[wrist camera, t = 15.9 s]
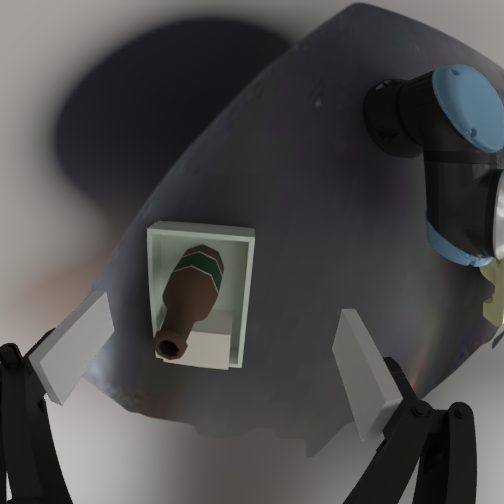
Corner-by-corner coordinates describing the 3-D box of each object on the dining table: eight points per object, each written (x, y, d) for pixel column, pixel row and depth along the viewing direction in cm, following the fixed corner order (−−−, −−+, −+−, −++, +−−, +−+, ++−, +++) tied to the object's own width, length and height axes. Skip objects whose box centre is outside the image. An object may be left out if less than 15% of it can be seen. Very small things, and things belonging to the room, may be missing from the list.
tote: (254, 228, 47) (255, 237, 41) (242, 349, 55) (241, 367, 50) (158, 220, 47) (147, 228, 41) (163, 340, 55) (156, 357, 49)
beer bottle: (181, 281, 49) (138, 370, 26) (182, 241, 47) (127, 311, 24) (223, 285, 50) (206, 380, 27) (226, 244, 47) (205, 322, 24)
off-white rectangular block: (232, 310, 51) (230, 335, 44) (230, 343, 54) (228, 369, 46) (171, 304, 51) (159, 326, 43) (173, 337, 53) (163, 361, 46)
